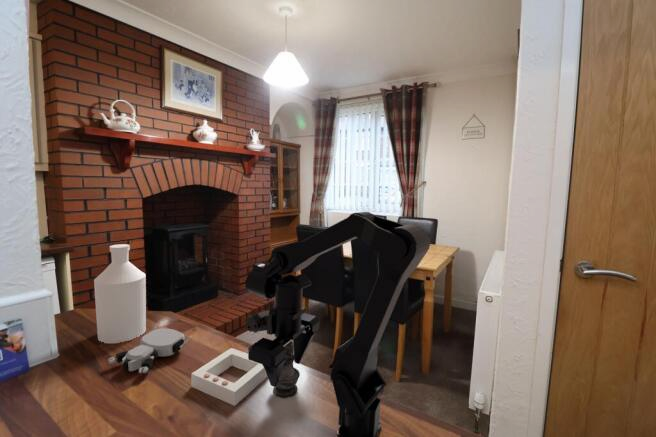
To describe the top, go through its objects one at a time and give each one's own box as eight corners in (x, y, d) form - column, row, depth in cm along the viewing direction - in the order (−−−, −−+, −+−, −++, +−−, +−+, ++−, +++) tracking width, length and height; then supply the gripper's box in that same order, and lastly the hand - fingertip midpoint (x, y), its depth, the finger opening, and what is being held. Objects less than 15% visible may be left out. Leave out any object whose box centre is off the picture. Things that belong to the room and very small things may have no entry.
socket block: (270, 373, 73) (271, 360, 73) (234, 405, 62) (234, 390, 62) (231, 359, 78) (231, 347, 78) (191, 386, 67) (191, 372, 67)
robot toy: (145, 385, 69) (194, 347, 83) (143, 367, 68) (193, 331, 82) (104, 372, 73) (158, 338, 87) (102, 354, 72) (157, 323, 86)
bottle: (91, 332, 88) (87, 244, 85) (139, 320, 97) (136, 240, 94) (102, 348, 80) (98, 252, 77) (153, 333, 89) (151, 246, 86)
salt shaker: (273, 401, 64) (274, 345, 63) (270, 383, 70) (271, 331, 69) (301, 396, 66) (303, 342, 64) (296, 379, 72) (298, 329, 70)
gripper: (281, 284, 77) (279, 344, 79) (226, 311, 61) (225, 386, 63) (321, 293, 73) (318, 356, 75) (274, 324, 56) (272, 405, 58)
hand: (286, 373), depth 67 cm, fingers open, 9 cm apart
